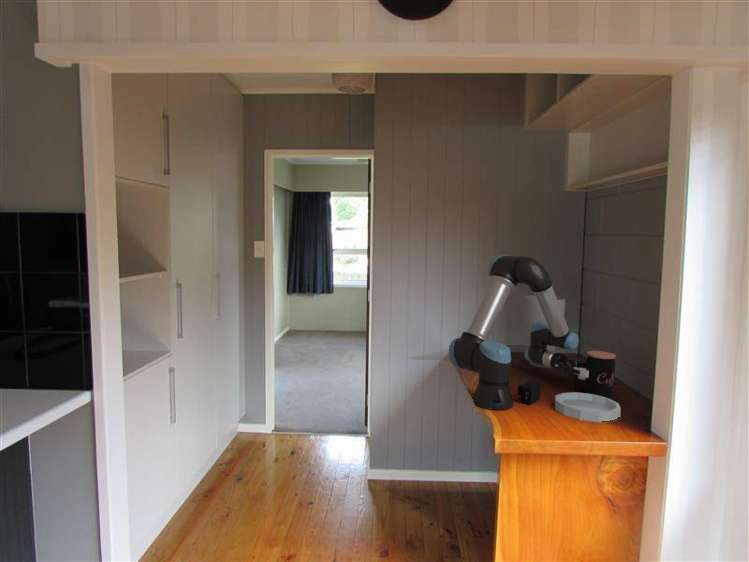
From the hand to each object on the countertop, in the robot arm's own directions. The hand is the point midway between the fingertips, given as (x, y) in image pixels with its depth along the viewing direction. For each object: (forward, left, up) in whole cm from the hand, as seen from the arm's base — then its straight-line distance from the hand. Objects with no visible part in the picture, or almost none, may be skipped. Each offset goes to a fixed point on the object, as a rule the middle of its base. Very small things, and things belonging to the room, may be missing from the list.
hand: (598, 372), depth 193 cm
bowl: (-22, -6, -10) cm, 25 cm away
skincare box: (+21, +15, -10) cm, 28 cm away
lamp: (+26, +41, -10) cm, 50 cm away
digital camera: (-30, +13, -10) cm, 34 cm away
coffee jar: (-1, -1, -10) cm, 10 cm away
